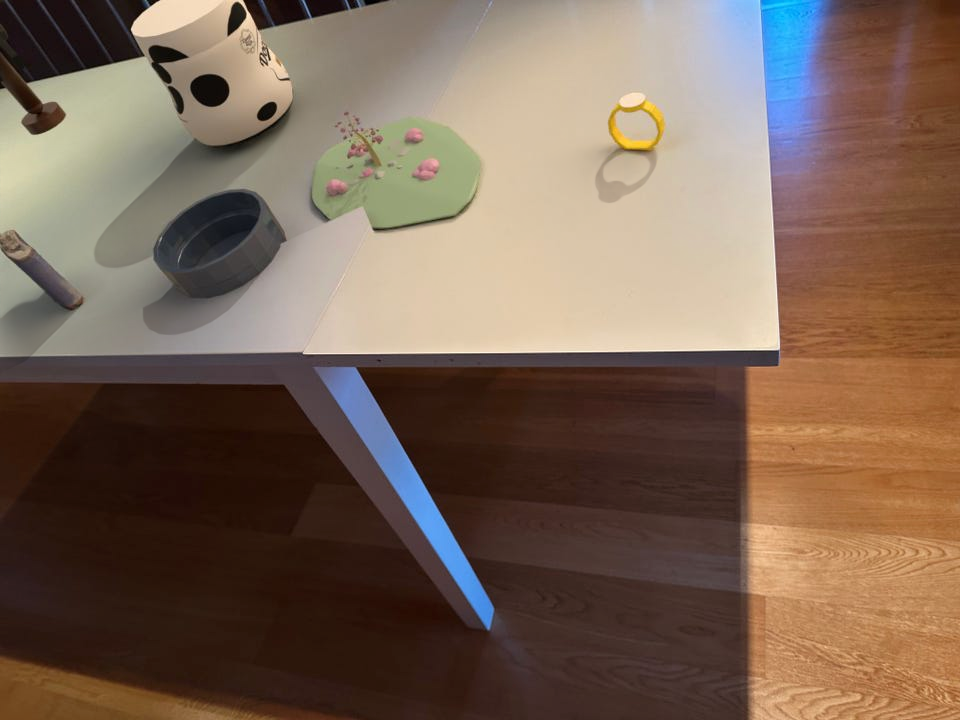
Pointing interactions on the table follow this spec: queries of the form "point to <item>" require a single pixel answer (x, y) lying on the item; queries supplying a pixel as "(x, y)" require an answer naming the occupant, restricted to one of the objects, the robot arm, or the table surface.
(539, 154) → the table surface
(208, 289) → the bowl
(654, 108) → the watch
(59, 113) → the masher
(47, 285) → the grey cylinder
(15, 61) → the robot arm
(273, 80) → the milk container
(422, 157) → the plant
